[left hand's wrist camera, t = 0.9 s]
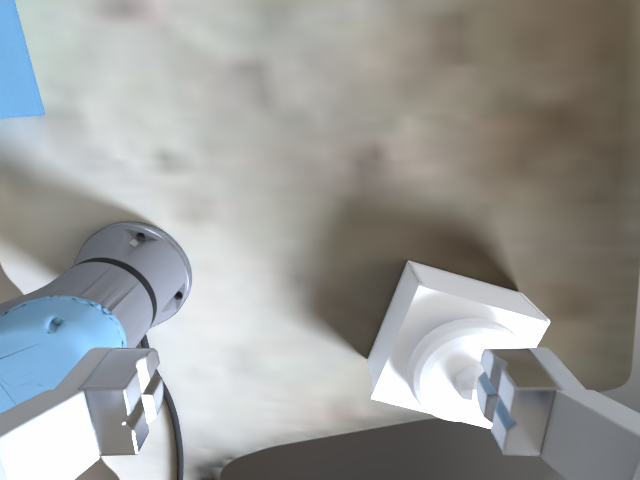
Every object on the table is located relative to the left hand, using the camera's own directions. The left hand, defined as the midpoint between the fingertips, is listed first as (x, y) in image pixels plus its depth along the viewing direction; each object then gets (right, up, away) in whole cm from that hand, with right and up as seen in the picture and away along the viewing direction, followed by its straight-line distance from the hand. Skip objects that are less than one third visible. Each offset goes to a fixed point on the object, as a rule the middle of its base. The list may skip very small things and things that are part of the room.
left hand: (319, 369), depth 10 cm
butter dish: (+18, -10, +52) cm, 55 cm away
